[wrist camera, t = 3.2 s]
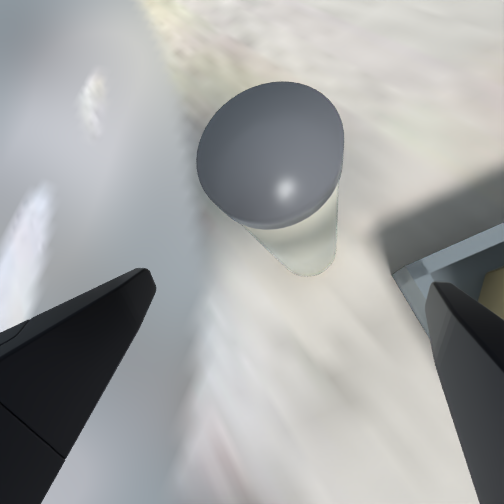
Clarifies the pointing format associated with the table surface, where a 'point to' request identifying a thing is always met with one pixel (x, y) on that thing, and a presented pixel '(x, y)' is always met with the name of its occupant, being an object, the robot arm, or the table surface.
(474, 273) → the walled box
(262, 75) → the table surface
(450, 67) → the table surface
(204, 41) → the table surface
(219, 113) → the cream and grey cylinder
